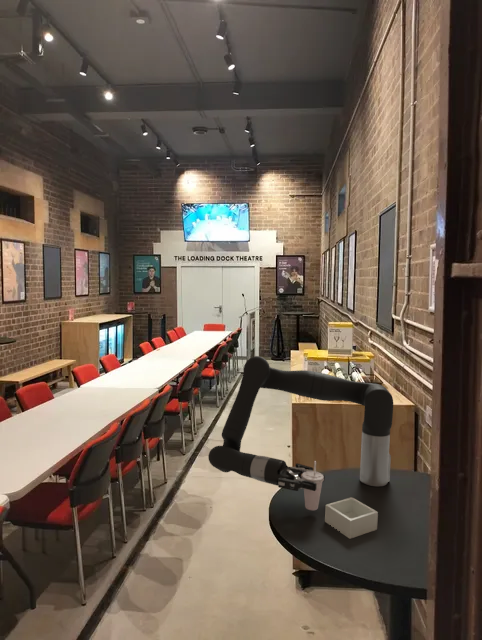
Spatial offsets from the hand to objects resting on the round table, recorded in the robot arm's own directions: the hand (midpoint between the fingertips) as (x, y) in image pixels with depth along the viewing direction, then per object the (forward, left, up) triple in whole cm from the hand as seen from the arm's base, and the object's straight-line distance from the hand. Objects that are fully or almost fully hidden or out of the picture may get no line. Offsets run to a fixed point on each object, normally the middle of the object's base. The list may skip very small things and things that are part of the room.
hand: (320, 482), depth 136 cm
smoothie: (+1, -2, -8) cm, 9 cm away
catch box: (-5, +8, -10) cm, 14 cm away
